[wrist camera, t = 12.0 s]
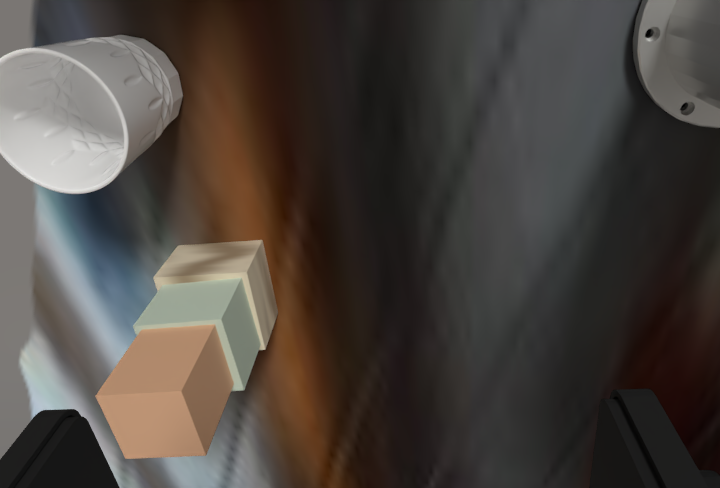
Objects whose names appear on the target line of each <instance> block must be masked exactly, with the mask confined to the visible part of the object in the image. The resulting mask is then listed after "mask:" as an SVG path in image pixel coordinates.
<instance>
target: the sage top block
mask: <svg viewBox="0 0 720 488" xmlns="http://www.w3.org/2000/svg"><path fill="white" fill-rule="evenodd" d="M212 324H215V326H216V329H217V332H218V335H219V338H220V341H221V345H222V348H223V351H224V354H225V357H226V360H227V363H228V367H229V370H230V373H231V376H232V379H233V382H234V385H233V387H232V390H231V391H241V390H245V387H246V384H247V381H248V379H249V376H250V373H251V370H252V367H253V365H254V362H255V359H256V356H257V354H258V351H259V348H260V345H261V343H260V339H259V336H258V332H257V329H256V325H255V322H254V318H253V315H252V311H251V308H250V305H249V301H248V298H247V294H246V291H245V287H244V284H243V280H242V278H233V279H222V280H211V281H200V282H190V283H179V284H168V285H162V287H161V288H160V290H159V291H158V292H157V294H156V295H155V297H154V298H153V299H152V301H151V302H150V303H149V305H148V306H147V308H146V309H145V310H144V312H143V313H142V315H141V316H140V317H139V319H138V320H137V321H136V323H135V324H134V326H133V328H134V330H135V333H136V335H138V334H139V332H140V331H141V330H143V329H157V328H170V327H184V326H198V325H212Z"/></svg>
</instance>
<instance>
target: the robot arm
mask: <svg viewBox="0 0 720 488" xmlns="http://www.w3.org/2000/svg"><path fill="white" fill-rule="evenodd" d="M648 29H650V30H651V33H650V35H649V36H647V37H645V34H646V31H647V30H648ZM633 59H634V63H635V68H636V72H637V76H638V78H639V80H640V82H641V84H642V86H643V88H644V90H645V92H646V93H647V94H648V95H649V97H650V98H651V99H652V100H653V101H654V103H655V104H656V105H658V106H659V107H660V108H662V109H663V110H664V111H666V112H667V113H669V114H670V115H672V116H674V117H675V118H677V119H679V120H681V121H684V122H687V123H690V124H694V125H697V126H702V127H712V128H720V0H642V3H641V6H640V9H639V12H638V14H637V17H636V22H635V28H634V35H633ZM684 103H685V105H684V107H683V108H681V106H682V105H683V104H684ZM680 108H681V109H680ZM0 488H119V486H118V484H117V481H116V479H115V477H114V475H113V473H112V471H111V469H110V467H109V465H108V462H107V460H106V458H105V456H104V454H103V452H102V450H101V448H100V446H99V443H98V441H97V439H96V437H95V435H94V433H93V431H92V429H91V427H90V425H89V422H88V421H87V419H86V418H84V417H81V415H80V414H79V412H78V411H76V410H74V409H67V410H43V411H41V412H39V413H38V414H37V415H36V416H35V417H34V418H33V419H32V420H31V422H30V423H29V424H28V425H27V427H26V428H25V430H23V432H22V433H21V434H20V436H19V437H18V438H17V439H16V441H15V442H14V443H13V444H12V446H11V447H10V448H9V449H8V451H7V452H6V453H5V455H4V456H3V457H2V458H1V460H0ZM589 488H720V475H718V474H717V473H716V472H715V471H711V470H698V468H697V467H696V465H695V463H694V461H693V460H692V458H691V456H690V454H689V453H688V451H687V449H686V447H685V446H684V444H683V442H682V440H681V439H680V437H679V435H678V434H677V432H676V430H675V428H674V427H673V425H672V423H671V421H670V420H669V418H668V416H667V414H666V413H665V411H664V409H663V408H662V406H661V404H660V402H659V401H658V399H657V397H656V395H655V394H654V393H653V391H652V390H650V389H626V390H613V391H612V392H611V396H610V399H602V400H601V401H600V406H599V414H598V422H597V430H596V439H595V447H594V455H593V463H592V471H591V479H590V487H589Z"/></svg>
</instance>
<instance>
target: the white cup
mask: <svg viewBox="0 0 720 488" xmlns="http://www.w3.org/2000/svg"><path fill="white" fill-rule="evenodd" d="M182 98H183V93H182V88H181V83H180V78H179V74H178V72H177V70H176V69H175V67H174V66H173V64H172V63H171V61H170V60H169V58H168V57H167V55H166V54H165V53H164V52H163V51H161V50H160V49H158V48H157V47H155V46H154V45H153V44H151V43H150V42H148V41H147V40H145V39H142V38H137V37H132V36H126V35H117V36H112V37H96V38H88V39H79V40H72V41H67V42H61V43H55V44H50V45H44V46H38V47H32V48H25V49H20V50H16V51H13V52H11V53H8V54H6V55H5V56H3V57H2V58H0V154H1V155H2V156H3V157H4V159H5V160H6V161H7V162H8V163H9V164H10V165H11V166H12V167H13V168H14V169H16V170H17V171H18V172H19V173H20V174H22V175H23V176H25V177H26V178H27V179H29V180H31V181H32V182H34V183H36V184H38V185H40V186H42V187H44V188H47V189H50V190H53V191H56V192H61V193H67V194H83V193H89V192H93V191H96V190H99V189H101V188H103V187H105V186H106V185H108V184H109V183H110V182H112V181H113V180H114V179H115V178H116V177H117V176H118V175H119V174H120V173H121V172H122V171H124V170H125V169H126V168H127V167H128V166H129V165H130V164H131V163H132V162H133V161H135V160H136V159H137V158H138V157H139V156H140V155H141V154H142V153H143V152H144V151H145V150H147V149H148V148H149V147H150V146H151V145H152V144H153V143H154V141H155V140H156V139H158V138H159V137H160V135H161V134H162V132H163V131H164V130H165V129H166V128H167V127H168V126H169V125H170V123H171V122H172V121H173V120H174V119H175V118H176V117H177V116H178V114H179V110H180V106H181V102H182Z"/></svg>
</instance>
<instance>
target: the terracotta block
mask: <svg viewBox="0 0 720 488" xmlns="http://www.w3.org/2000/svg"><path fill="white" fill-rule="evenodd" d="M233 385H234V382H233V379H232V376H231V373H230V370H229V367H228V363H227V360H226V357H225V354H224V351H223V348H222V345H221V341H220V338H219V335H218V332H217V329H216V326H215V324H212V325H198V326H184V327H170V328H157V329H143V330H141V331H140V332H139V334H138V335H137V337H136V338H135V340H134V341H133V343H132V344H131V345H130V347H129V348H128V350H127V351H126V353H125V354H124V356H123V357H122V358H121V360H120V361H119V363H118V364H117V366H116V367H115V369H114V370H113V371H112V373H111V374H110V376H109V377H108V379H107V380H106V381H105V383H104V384H103V386H102V387H101V389H100V390H99V392H98V393H97V394H96V398H97V400H98V402H99V404H100V406H101V408H102V410H103V412H104V415H105V417H106V419H107V421H108V423H109V425H110V427H111V429H112V431H113V433H114V435H115V437H116V440H117V442H118V444H119V446H120V448H121V450H122V452H123V454H124V456H125V458H126V459H134V458H158V457H182V456H206V454H207V451H208V449H209V446H210V444H211V441H212V439H213V436H214V434H215V431H216V428H217V426H218V423H219V421H220V418H221V416H222V413H223V411H224V408H225V405H226V403H227V400H228V398H229V395H230V393H231V390H232V387H233Z"/></svg>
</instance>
